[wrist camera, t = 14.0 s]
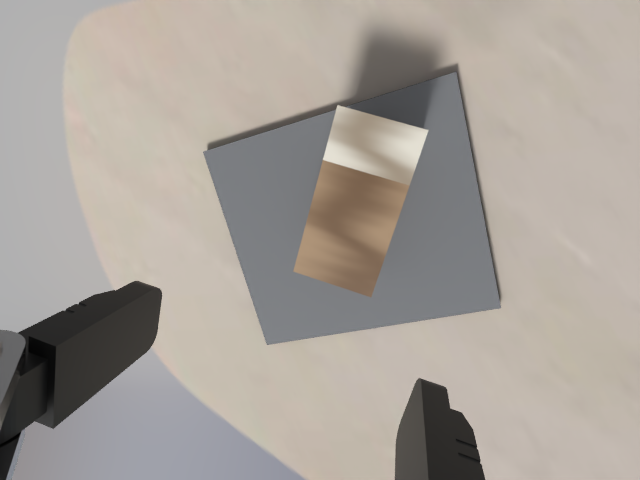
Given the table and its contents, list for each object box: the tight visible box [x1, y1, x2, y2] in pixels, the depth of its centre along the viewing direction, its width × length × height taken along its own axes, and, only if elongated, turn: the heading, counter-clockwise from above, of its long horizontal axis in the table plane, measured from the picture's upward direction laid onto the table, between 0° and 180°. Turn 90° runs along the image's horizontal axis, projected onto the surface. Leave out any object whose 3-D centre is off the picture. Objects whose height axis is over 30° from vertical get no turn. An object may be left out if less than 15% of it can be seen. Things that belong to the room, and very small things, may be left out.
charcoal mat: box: [203, 72, 501, 345], centre depth 27 cm, size 18×16×1 cm
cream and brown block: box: [293, 105, 428, 297], centre depth 24 cm, size 5×5×10 cm
